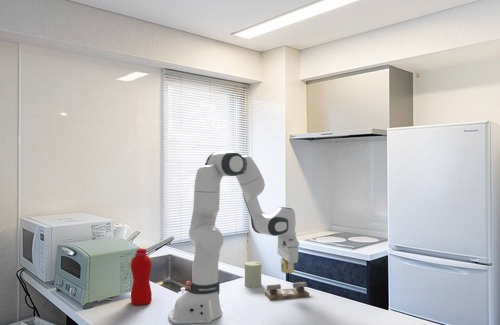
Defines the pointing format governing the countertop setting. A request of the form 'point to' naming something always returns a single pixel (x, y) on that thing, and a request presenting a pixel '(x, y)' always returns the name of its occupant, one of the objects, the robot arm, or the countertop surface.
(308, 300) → the countertop surface
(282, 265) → the block
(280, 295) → the shaft mount
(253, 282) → the can
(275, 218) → the robot arm
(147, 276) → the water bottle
